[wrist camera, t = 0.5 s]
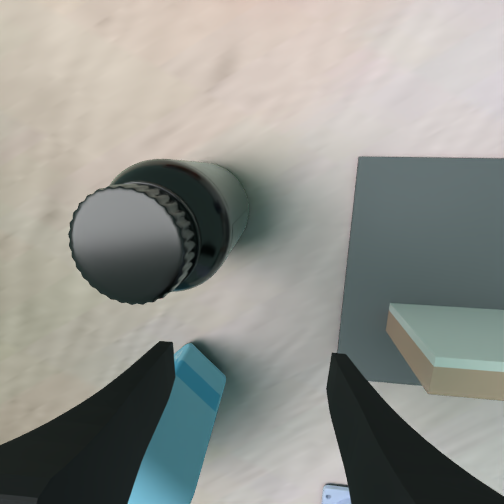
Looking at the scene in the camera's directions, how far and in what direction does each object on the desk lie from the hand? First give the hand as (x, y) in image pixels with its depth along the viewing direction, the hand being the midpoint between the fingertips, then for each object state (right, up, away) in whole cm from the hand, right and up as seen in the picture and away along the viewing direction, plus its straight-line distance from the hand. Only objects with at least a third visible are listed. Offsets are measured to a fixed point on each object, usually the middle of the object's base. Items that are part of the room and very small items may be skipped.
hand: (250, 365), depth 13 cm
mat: (+15, +3, +9) cm, 18 cm away
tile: (+15, 0, +9) cm, 18 cm away
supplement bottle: (-3, +9, +10) cm, 13 cm away
